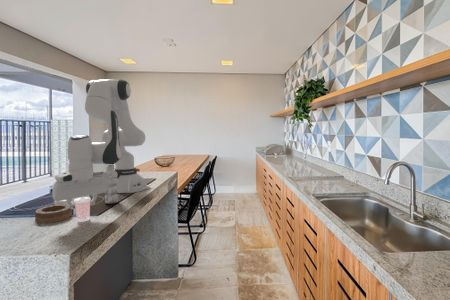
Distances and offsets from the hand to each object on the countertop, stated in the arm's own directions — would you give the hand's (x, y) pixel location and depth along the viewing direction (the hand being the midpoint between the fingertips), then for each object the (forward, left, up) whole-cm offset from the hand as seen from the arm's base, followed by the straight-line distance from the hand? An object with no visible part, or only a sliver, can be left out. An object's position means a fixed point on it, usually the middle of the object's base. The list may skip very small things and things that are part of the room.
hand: (82, 206), depth 102 cm
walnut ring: (+7, -13, -6) cm, 16 cm away
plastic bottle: (-19, -16, -6) cm, 25 cm away
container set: (-4, -27, -6) cm, 28 cm away
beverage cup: (0, 0, -6) cm, 6 cm away
